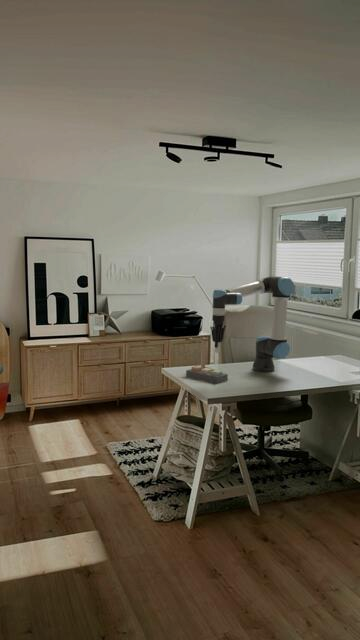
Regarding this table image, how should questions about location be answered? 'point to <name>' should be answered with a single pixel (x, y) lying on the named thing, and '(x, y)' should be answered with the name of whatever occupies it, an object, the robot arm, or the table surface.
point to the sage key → (216, 372)
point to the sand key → (206, 370)
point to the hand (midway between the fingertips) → (217, 352)
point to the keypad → (206, 376)
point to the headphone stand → (203, 353)
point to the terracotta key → (197, 368)
